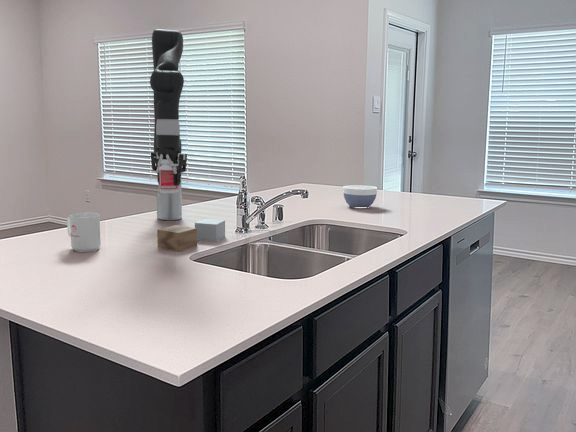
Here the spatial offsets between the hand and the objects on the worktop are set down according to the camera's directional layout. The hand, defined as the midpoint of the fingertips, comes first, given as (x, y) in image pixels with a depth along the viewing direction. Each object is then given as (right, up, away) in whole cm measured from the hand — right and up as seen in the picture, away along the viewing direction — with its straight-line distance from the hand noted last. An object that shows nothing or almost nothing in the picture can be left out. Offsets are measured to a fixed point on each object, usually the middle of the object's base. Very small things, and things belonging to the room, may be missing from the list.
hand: (169, 184), depth 194 cm
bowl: (+73, -6, +83) cm, 110 cm away
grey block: (+12, -18, +11) cm, 25 cm away
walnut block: (+3, -21, -2) cm, 21 cm away
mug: (-26, -21, -6) cm, 34 cm away
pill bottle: (0, -3, +1) cm, 3 cm away
